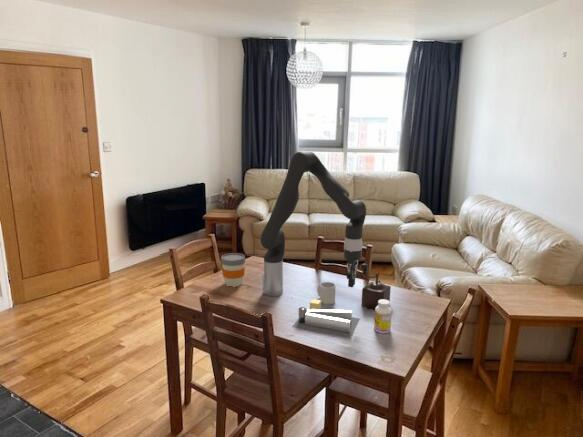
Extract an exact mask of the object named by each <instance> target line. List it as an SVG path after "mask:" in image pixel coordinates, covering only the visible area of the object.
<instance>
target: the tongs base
mask: <svg viewBox="0 0 583 437" xmlns="http://www.w3.org/2000/svg"><path fill="white" fill-rule="evenodd" d="M306 309H307V308H306V307H304V306H301V307H298V318H299V323H305V324H306V325H311V326H317V327H322V328H327V329H333V330H338V331H343V332H350V322H351V320H346V319H341V318H335V317H329V316H324V315H318V314H312V313H306Z"/></svg>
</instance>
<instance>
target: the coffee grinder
mask: <svg viewBox="0 0 583 437" xmlns="http://www.w3.org/2000/svg"><path fill="white" fill-rule="evenodd" d="M359 267H360V269H361V272H362V274H363V277H364V278H367V279H375V281H370V282H369V283H367V284H366V285H365V286H364V287H363V288H362V290H361V306H362V307H364V308H366V309H367V310H371V311H374V312H375V308H376V306H378V301H379V300H381V299H385V300H388V301H389V302H390V301H391V290H392V289H391V287H392V286H391V285H386V284H384V283H382V282H381V280H379V277H380V276H379V272H376V273H375V275H367V274H368V273H369V271H368V268H369V265H368V264H367V263H362V264H360V266H359ZM390 303H391V302H390Z"/></svg>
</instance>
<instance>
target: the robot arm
mask: <svg viewBox="0 0 583 437" xmlns="http://www.w3.org/2000/svg"><path fill="white" fill-rule="evenodd" d="M305 173H310V174H312V176H314V177H315V178H316V179H317V180H318V181H319V183H320V185H321V187H322V190H323V191H324V193H325V194H326V195H327V196H328V197H329V198H330V199H331V200H332V201H333V203H335V204H336V205H337V208H338V209H339V211H340V212H341V214H342V215H343V216H344V217H345V218H347V219H349V222H348V223H347V224H346V225H345V229H344V230H345V231H344V232H345V234H344V242H343V243H344V244H343V258H344V259H345V260H347V263H346V268H345V273H346V274H345V275H346V279H347V280H348V281H347V283H348V284H347V286H348V288H354V286H355V285H356V277H357V274H358V266H359V261H360V260H362V258H363V256H362V254H363V226H364V224H365V220H366V216H367V207H366V204H365V203H364V202H363V201H362V200H353V201H352V200H351V199H350V198H349V197H350V193H349V191H348V190H347V189H346V188H345V187H344V186H343V185H342V184H341V183H340V182H339V181H337V179H336V178H335V177H334V176H333V175H332V174H331V173H330V172H329V170H328V169H327V168H326V167H325V165H324V164H323V162H322V161H321V159H319V157H318V156H317V155H316V154H315V152H313V151H311V150H303V151H300V150H299V151H296V152H295V153H293V155H292V157H291V158H290V162H289V164H288V169H287V173H286V176H285V179H284V180H283V181H284V182H283V183H282V187H281V190H280V191H279V194H278V196H277V198H276V201H275V204H274V206H273V209H272V211H271V214H270V216H269V219H268V221H267V223H266V225H265V226H264V229H263V230H262V232H261V234H260V237H259V238H260V245H261V246H262V247H263V249H267V251H266V252H265V253H264V255H263V275H262V294H264V295H266V296H268V297H278V296H281V295H282V294H283V293H284V292H283V291H284V288H283V287H284V286H283V285H284V281H283V280H284V278H283V276H284V275H283V274H284V272H283V271H284V270H283V269H284V268H283V267H284V266H283V264H284V261H283V258H284V255H285V249H286V248H285V245H286V237H285V233H284V231H283V229H282V227H283V226H284V224H286V222H287V221H288V219H289V218H290V217H291V216H292V215H293V213H294V211H295V209H296V206H297V205H298V202H299V198H300V193H299V192H300V190H299V187H300V186H299V185H300V183H301V180H302V177H303V176H304V174H305Z"/></svg>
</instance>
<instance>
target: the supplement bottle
mask: <svg viewBox="0 0 583 437" xmlns="http://www.w3.org/2000/svg"><path fill="white" fill-rule="evenodd" d="M390 304H391V302H389V301H388V300H385V299H381V300H379V301H378V306H376V308H375V311H374V330H375V332H377V333H379V334H388V333H390V332H391V326H392V325H391V324H392V311H393V310H392V307H391V306H390Z"/></svg>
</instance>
